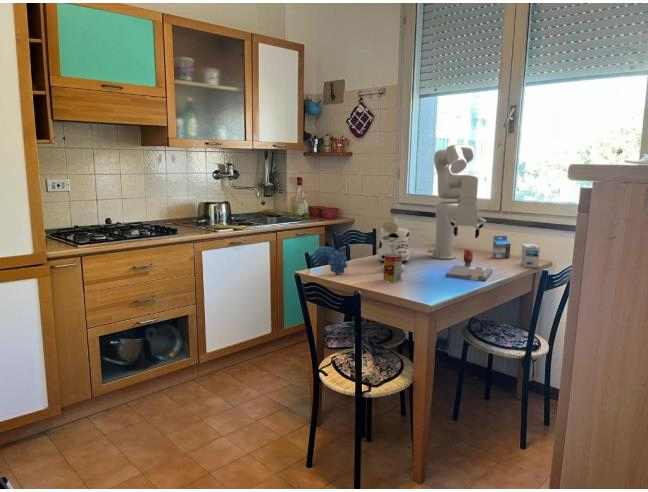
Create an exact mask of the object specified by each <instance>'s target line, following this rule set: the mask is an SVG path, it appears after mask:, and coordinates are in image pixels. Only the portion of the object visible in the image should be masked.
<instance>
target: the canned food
mask: <svg viewBox="0 0 648 492" xmlns="http://www.w3.org/2000/svg"><path fill="white" fill-rule="evenodd" d="M383 264H384V269H383V281H384V280H385V281H389V282H398V283H400V282H399V281H401V282H402V271H401V266H402V264H403V263H402V255H401V254H396V253H388V254H384V262H383ZM385 281H384V282H385ZM389 282H388V283H389Z"/></svg>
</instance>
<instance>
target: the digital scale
mask: <svg viewBox="0 0 648 492" xmlns="http://www.w3.org/2000/svg"><path fill="white" fill-rule="evenodd" d="M469 268H470V267H466V266H465V265H464V266H463V265H456V264H455V265H454V266H453V267H452V268H451V269H450V270H448V271H447V272H446V273H445V277H446V278H454V279H455V278H456V279H463V280H473V281H482V282H486V281H487V280H488V279H489V277H490V276H491V274H492V273H493V269H492V268H486V275H485V276H484V277H482V276H473V275H468V270H469Z"/></svg>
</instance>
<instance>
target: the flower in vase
mask: <svg viewBox="0 0 648 492" xmlns="http://www.w3.org/2000/svg"><path fill="white" fill-rule="evenodd" d="M398 227H399V226H398V224H397V223H396V222H394V221H393V220H392V221H391V220H386V221H384V222H383V223H382V225H381V228H383V229H384V231H385V232H388V233H389V234H390V233H391V234H392V233H395V232H397V231H398V230H397V229H398ZM389 238H390V236H389V237H387V236H384V237H383V238H382V239H384V240H389ZM398 238H399V237H398ZM398 238H395V239H393V240H391V239H390V240H391V242H392V241H394V240H397V239H398ZM389 245H390V247H391V253H396V249H397V246H398V245H399V243H393V242H392V243H389ZM381 268H382V270H384V263H383V264H382V265H381ZM404 270H405V265H404V264H403V263H402V266H401V272H402V271H404Z"/></svg>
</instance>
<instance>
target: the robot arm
mask: <svg viewBox="0 0 648 492" xmlns="http://www.w3.org/2000/svg"><path fill="white" fill-rule="evenodd" d="M474 157H475V150H474V148H473V146H471V145H470V144H451V145H449V146H447V147H446V149H440V150H437V151H436V152H435V153H434V157H433V164H434V168H435V170H436V174H437V196H438V198H439V199H442V200H456V201H440V202H438V203H436V205H435V209H434V211H435V220H436V221H435V222H436V223H435V227H436V229H435V245H434V246H435V247H434V248H433V249H432V248H428V249H427V252H428V253H431V254H432V255H431V257H432V258H434V259H439V260H452V259H455V258H456V255H455V254H453V246H454V237H457V236H458V231H459V230H458V229H459V228H458V226H460V225H461V226H471V227H472V226H473V227H475V229H474V230H475V234H474V238H476V239H478V237H479V236H480V229H481V228H483V227H484V225H485V224H486V223H487V220H486V219H484V218H483V217H481V216H479V215H480V214H479V212H480V211H479V205H478V204H477V203H478V202H477V200H478V188H479V187H478V186H479V185H478V184H479V177H478V175H477V174H474V173H469V172H468V173H467V172H466V173H462V171H464V170H465V169H466V167H467V166H468V165H467V164H469V163H470V162H471V161H472V160H473V159H474ZM454 219H455V221H454ZM479 221H480V222H481V224H479Z"/></svg>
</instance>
